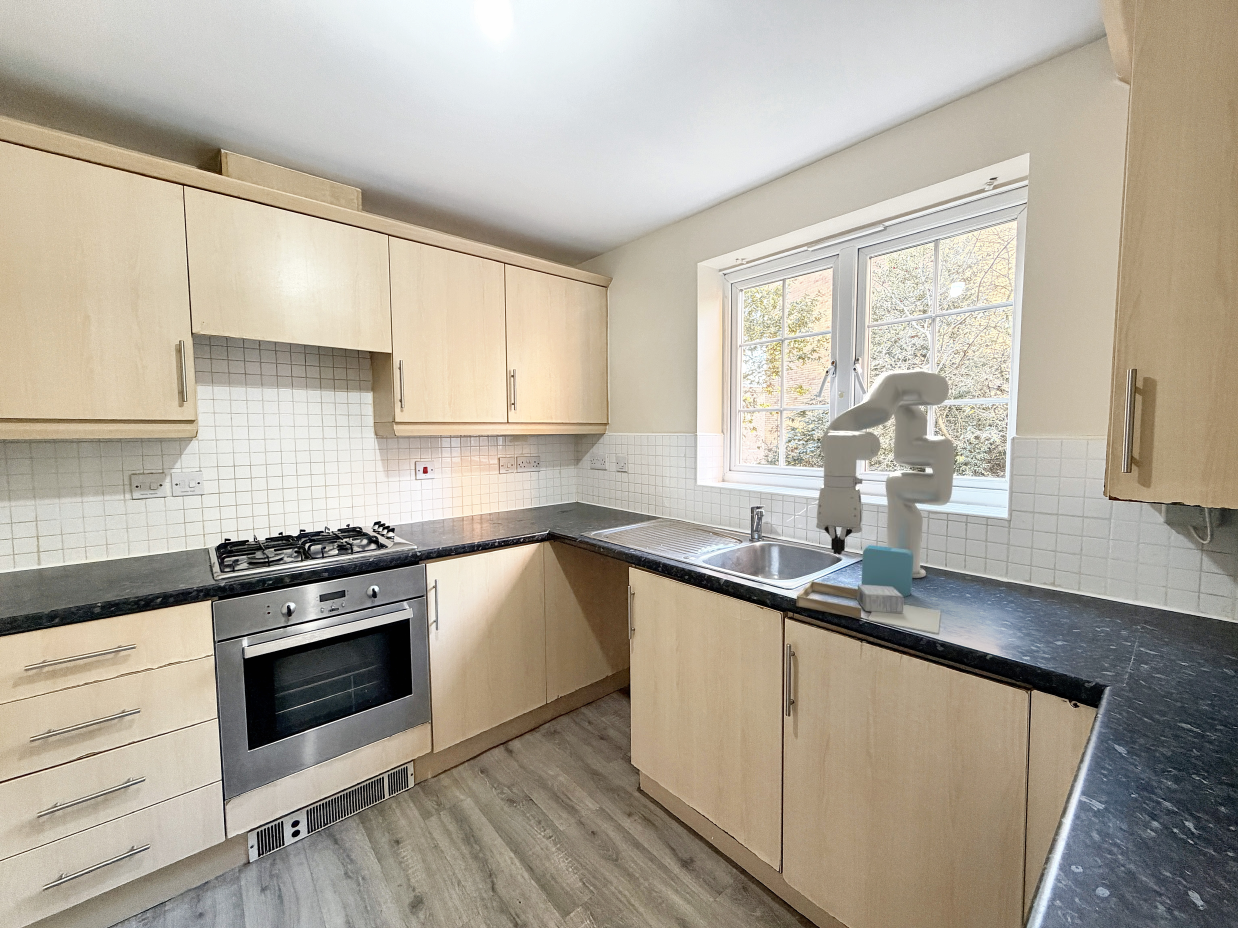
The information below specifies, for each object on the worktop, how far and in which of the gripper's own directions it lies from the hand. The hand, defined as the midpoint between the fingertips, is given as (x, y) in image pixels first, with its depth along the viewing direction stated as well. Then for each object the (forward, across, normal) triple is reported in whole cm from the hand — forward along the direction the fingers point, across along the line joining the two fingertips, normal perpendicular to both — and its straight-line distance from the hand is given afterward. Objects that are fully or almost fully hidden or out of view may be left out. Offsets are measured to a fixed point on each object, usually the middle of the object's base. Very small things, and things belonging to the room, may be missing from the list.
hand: (837, 552), depth 132 cm
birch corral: (+13, 0, +1) cm, 13 cm away
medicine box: (+10, -6, 0) cm, 12 cm away
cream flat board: (+13, -16, +1) cm, 20 cm away
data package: (+14, -10, -17) cm, 24 cm away
